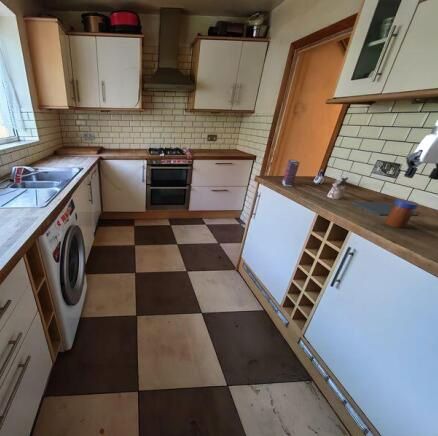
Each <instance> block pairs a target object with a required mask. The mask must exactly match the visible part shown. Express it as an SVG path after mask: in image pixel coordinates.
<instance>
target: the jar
mask: <svg viewBox="0 0 438 436" xmlns="http://www.w3.org/2000/svg"><path fill="white" fill-rule="evenodd" d="M393 205H394V206H393V208H392V210H391V211H390V213H389V215H387V217H386V219H385V221H384V224H385V225H386V226H390V227H393V228H396V229H405V228H406V226H407V224H409V223H408V222H409V221H410V220H411V218H412V217H413V216H412V214H413V213H415V211H416V209H410V208H404V207H400V206H397V205H395V204H393Z"/></svg>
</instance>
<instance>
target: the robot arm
mask: <svg viewBox="0 0 438 436" xmlns="http://www.w3.org/2000/svg"><path fill="white" fill-rule="evenodd" d="M405 159H406V161H405V162H406V166H407V169H406V171H405V173H404V175H403V177H405V178H408V179H413V178H414V176H415V175H416V172H417V171H418V167H419V166H421V165H422V164H433V165H435V167H434V168H433V169H432V171H430V174H429V176H428V178H429V179H431V180H435V181H438V119H437V120H436V122H435V124H434V126H433V128H432V129H431V131H430V133H429V134H427V135H425V136H424V138H422V140H421V141H420V143H419V144H418V146H417V147H416V149H415V150H414V152H412V153H410V154H408V155H405Z"/></svg>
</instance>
